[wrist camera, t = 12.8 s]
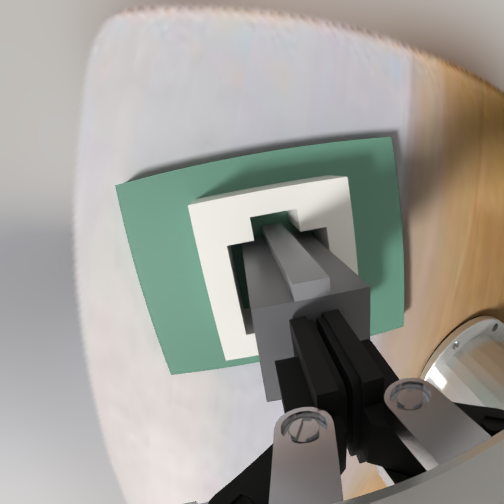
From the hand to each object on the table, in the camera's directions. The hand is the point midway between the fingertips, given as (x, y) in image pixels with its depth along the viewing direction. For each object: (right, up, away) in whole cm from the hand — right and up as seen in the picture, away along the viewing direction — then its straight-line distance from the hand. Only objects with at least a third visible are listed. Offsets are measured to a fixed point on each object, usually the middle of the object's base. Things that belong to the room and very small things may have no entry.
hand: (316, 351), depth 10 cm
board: (-1, +3, +11) cm, 12 cm away
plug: (-1, +3, +10) cm, 10 cm away
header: (-1, +3, +10) cm, 10 cm away
